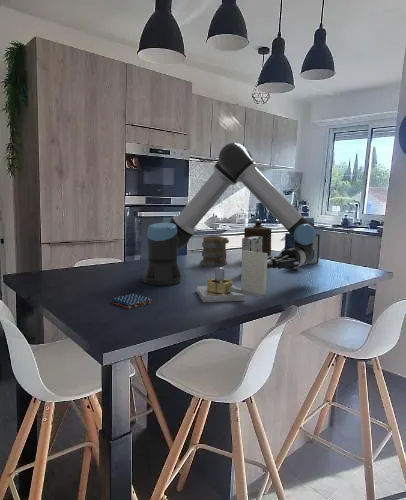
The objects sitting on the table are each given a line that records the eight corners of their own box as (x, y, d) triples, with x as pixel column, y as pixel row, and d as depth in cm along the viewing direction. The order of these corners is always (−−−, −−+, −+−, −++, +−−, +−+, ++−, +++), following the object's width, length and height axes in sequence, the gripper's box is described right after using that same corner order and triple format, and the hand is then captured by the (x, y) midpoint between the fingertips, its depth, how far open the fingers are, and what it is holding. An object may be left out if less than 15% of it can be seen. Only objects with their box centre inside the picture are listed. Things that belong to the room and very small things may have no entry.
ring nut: (202, 289, 129) (203, 247, 127) (217, 285, 135) (218, 245, 133) (257, 301, 115) (259, 254, 113) (271, 296, 121) (272, 252, 119)
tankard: (197, 262, 195) (197, 234, 193) (218, 261, 200) (219, 233, 198) (214, 269, 177) (215, 238, 175) (237, 268, 182) (238, 237, 180)
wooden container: (252, 257, 214) (253, 219, 211) (275, 260, 205) (277, 220, 202) (238, 260, 203) (239, 220, 200) (261, 264, 193) (263, 222, 190)
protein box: (295, 259, 211) (296, 232, 209) (318, 263, 200) (320, 234, 197) (283, 261, 205) (284, 233, 202) (307, 265, 193) (308, 235, 191)
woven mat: (155, 304, 121) (155, 298, 121) (128, 311, 113) (128, 304, 113) (135, 297, 128) (135, 292, 128) (108, 304, 120) (108, 298, 120)
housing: (203, 302, 122) (203, 272, 120) (196, 291, 135) (196, 264, 134) (244, 300, 124) (245, 271, 123) (233, 290, 138) (234, 263, 137)
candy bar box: (252, 270, 177) (254, 236, 175) (262, 271, 174) (263, 236, 172) (240, 273, 168) (241, 237, 166) (250, 275, 165) (251, 238, 163)
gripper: (307, 270, 138) (277, 280, 120) (276, 265, 147) (243, 274, 129) (308, 250, 137) (278, 257, 119) (276, 247, 146) (244, 253, 127)
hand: (260, 266), depth 124 cm, fingers closed
